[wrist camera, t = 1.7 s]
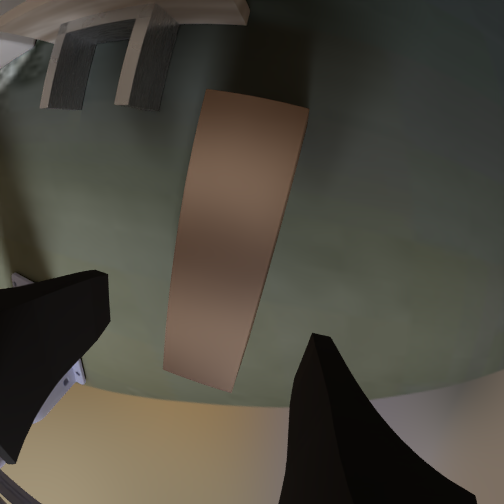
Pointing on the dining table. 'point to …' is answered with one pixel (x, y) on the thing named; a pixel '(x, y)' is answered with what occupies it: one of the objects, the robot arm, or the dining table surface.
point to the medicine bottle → (12, 37)
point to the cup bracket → (135, 63)
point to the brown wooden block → (228, 231)
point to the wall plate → (89, 3)
